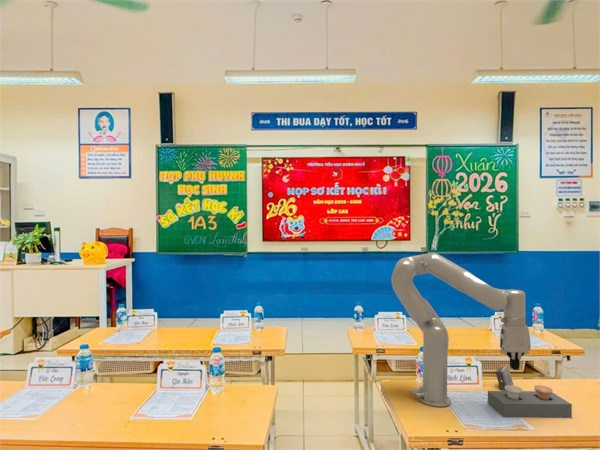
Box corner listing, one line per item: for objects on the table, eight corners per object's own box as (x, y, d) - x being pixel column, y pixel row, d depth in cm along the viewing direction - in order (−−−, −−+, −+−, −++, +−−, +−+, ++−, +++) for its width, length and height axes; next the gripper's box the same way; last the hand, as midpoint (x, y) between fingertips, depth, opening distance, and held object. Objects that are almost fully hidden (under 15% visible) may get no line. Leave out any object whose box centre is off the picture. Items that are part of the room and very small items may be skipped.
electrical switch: (509, 392, 172) (507, 370, 173) (496, 390, 175) (494, 369, 176) (513, 386, 179) (512, 365, 180) (501, 384, 182) (499, 364, 183)
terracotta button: (540, 404, 152) (540, 391, 152) (531, 397, 158) (531, 385, 158) (555, 404, 152) (556, 391, 152) (545, 398, 158) (545, 385, 158)
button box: (503, 417, 149) (503, 403, 149) (487, 403, 161) (487, 390, 161) (571, 417, 149) (571, 404, 149) (550, 403, 161) (550, 391, 161)
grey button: (509, 404, 152) (510, 391, 152) (501, 397, 158) (501, 385, 158) (525, 404, 152) (525, 391, 152) (516, 397, 158) (516, 385, 158)
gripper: (500, 323, 151) (500, 372, 151) (539, 323, 152) (539, 372, 151) (490, 319, 159) (490, 365, 158) (527, 319, 159) (527, 365, 159)
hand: (514, 368), depth 155 cm, fingers closed
